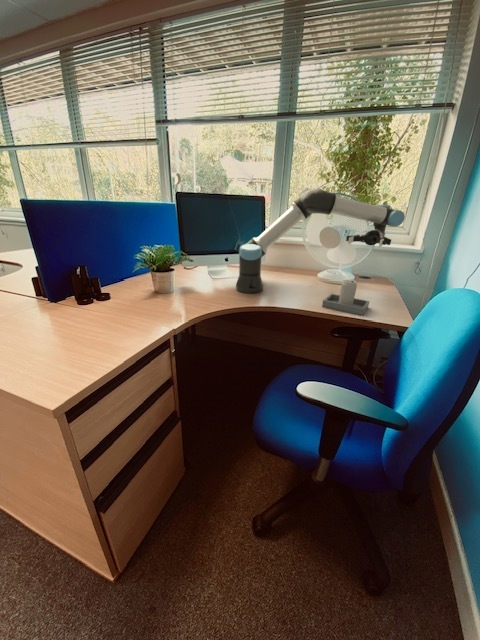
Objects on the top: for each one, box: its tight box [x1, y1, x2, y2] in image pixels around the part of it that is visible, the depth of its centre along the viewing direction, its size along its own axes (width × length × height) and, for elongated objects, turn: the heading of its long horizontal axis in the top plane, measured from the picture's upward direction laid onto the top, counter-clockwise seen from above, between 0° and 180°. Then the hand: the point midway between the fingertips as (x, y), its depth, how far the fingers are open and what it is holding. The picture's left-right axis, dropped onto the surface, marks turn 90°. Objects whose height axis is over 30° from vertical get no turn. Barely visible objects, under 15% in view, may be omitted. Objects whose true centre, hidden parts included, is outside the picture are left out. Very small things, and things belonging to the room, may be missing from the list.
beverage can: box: [338, 279, 358, 306], centre depth 121 cm, size 6×6×12 cm
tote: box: [321, 293, 370, 317], centre depth 123 cm, size 18×12×3 cm, turn 55°
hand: (364, 242), depth 123 cm, fingers open, 13 cm apart
